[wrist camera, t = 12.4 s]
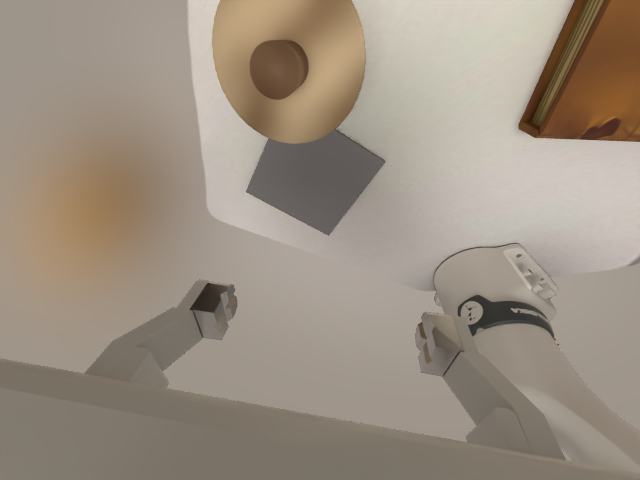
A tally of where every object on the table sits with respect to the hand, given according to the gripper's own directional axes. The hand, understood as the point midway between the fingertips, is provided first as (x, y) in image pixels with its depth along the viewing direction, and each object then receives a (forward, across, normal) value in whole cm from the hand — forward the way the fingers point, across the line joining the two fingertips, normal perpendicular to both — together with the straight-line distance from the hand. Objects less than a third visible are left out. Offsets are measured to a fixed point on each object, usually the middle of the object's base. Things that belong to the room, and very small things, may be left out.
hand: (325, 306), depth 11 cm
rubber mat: (+31, -6, -7) cm, 32 cm away
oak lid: (+15, -5, +8) cm, 18 cm away
